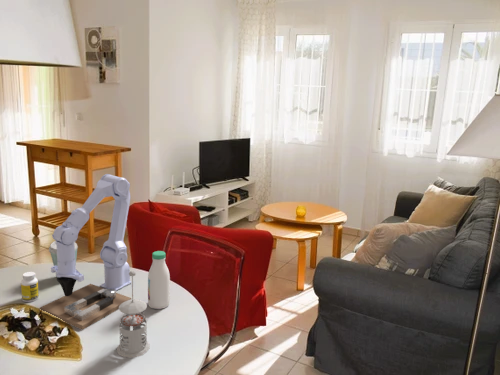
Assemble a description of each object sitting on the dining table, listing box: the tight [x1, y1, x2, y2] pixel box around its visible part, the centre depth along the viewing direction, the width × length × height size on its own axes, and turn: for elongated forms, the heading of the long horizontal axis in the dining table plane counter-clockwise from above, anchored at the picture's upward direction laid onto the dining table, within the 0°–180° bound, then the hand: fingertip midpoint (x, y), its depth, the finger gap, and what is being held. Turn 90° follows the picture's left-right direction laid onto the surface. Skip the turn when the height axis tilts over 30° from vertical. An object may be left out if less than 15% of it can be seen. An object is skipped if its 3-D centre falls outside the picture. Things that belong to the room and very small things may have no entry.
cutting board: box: [39, 283, 132, 331], centre depth 149 cm, size 22×21×2 cm
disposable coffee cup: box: [48, 240, 79, 279], centre depth 168 cm, size 11×11×15 cm
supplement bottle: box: [20, 271, 39, 303], centre depth 152 cm, size 5×5×10 cm
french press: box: [116, 270, 151, 359], centre depth 125 cm, size 10×12×25 cm
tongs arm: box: [64, 288, 117, 316], centre depth 148 cm, size 18×6×2 cm, turn 150°
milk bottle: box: [147, 250, 171, 310], centre depth 151 cm, size 8×8×20 cm
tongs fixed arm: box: [74, 297, 113, 320], centre depth 144 cm, size 14×4×2 cm, turn 152°
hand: (68, 294), depth 150 cm, fingers closed
